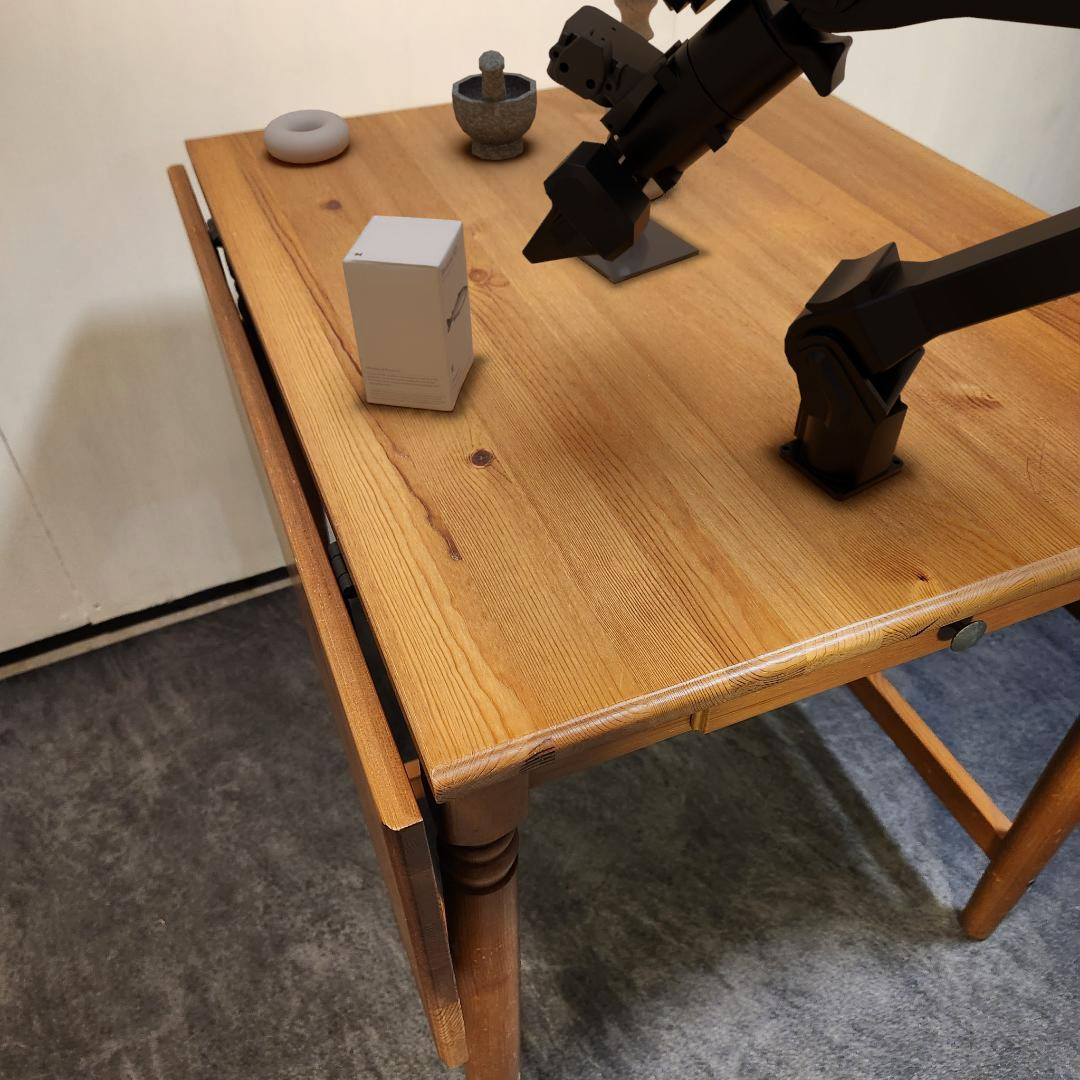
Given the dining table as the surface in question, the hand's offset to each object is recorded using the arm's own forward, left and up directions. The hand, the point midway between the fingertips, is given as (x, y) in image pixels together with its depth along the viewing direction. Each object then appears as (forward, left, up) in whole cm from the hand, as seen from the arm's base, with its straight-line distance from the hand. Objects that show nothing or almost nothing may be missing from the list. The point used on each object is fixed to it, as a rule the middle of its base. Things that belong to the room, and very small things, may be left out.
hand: (551, 227), depth 67 cm
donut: (+55, -1, -14) cm, 57 cm away
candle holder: (+26, -26, -14) cm, 40 cm away
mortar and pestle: (+42, -19, -14) cm, 48 cm away
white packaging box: (+6, +9, -14) cm, 18 cm away
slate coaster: (+15, -18, -14) cm, 27 cm away
